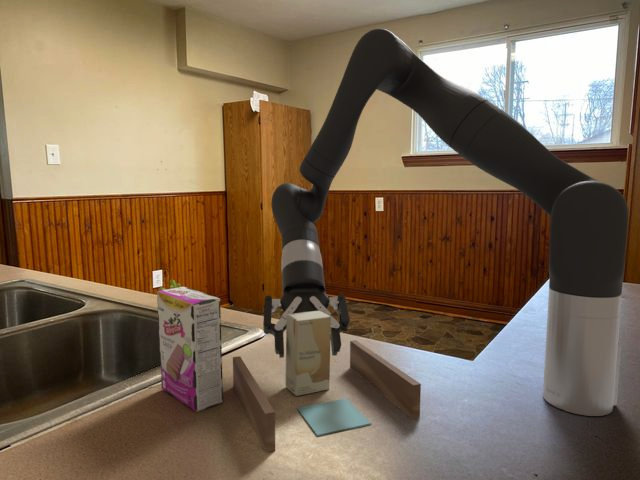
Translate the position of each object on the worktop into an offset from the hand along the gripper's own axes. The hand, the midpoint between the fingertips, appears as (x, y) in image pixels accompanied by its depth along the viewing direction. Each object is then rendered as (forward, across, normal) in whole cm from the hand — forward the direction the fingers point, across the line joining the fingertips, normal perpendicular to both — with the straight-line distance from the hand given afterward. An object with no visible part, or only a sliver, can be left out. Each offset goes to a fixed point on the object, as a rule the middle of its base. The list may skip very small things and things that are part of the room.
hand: (308, 354), depth 71 cm
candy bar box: (+4, -18, +5) cm, 19 cm away
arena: (+7, +1, +2) cm, 7 cm away
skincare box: (+4, 0, +5) cm, 6 cm away
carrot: (-8, -24, +17) cm, 30 cm away
